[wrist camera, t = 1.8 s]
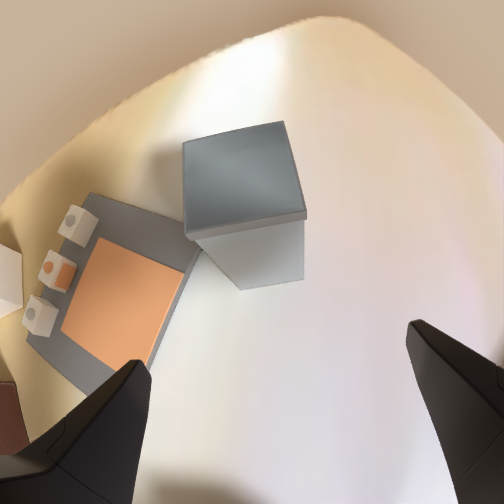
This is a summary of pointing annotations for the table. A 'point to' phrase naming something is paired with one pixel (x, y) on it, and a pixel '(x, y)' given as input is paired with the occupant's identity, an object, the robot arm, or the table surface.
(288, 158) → the cap
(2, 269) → the medicine bottle
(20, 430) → the letter holder
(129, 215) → the board
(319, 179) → the table surface
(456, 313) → the table surface
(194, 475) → the table surface
